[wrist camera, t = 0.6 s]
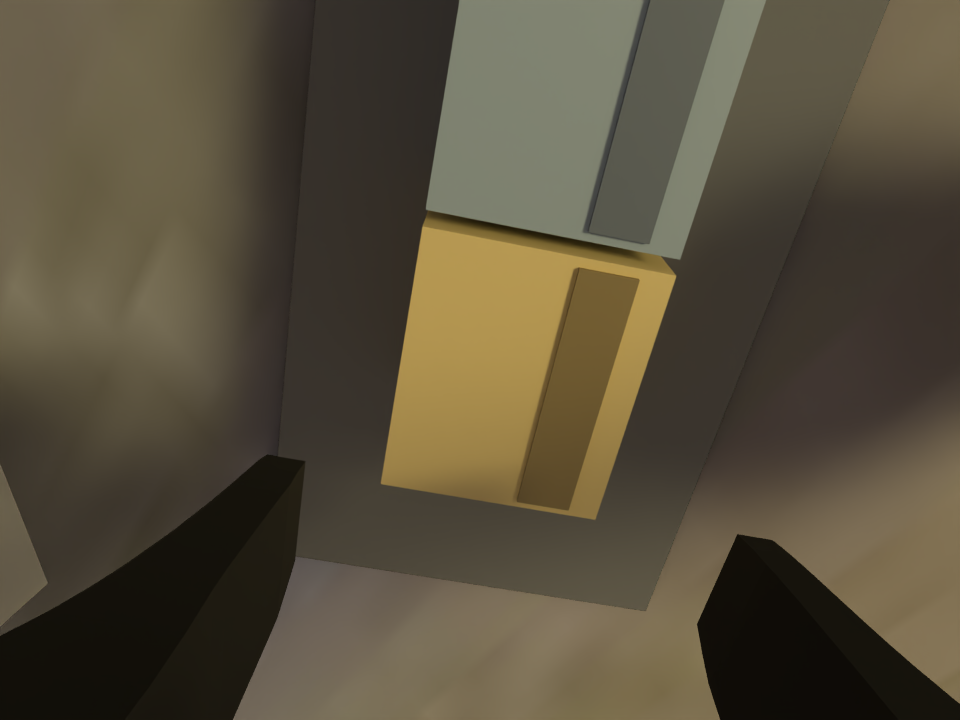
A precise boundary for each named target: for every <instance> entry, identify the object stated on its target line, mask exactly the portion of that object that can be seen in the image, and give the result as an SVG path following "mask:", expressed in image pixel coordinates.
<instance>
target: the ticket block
mask: <svg viewBox="0 0 960 720" xmlns="http://www.w3.org/2000/svg"><path fill="white" fill-rule="evenodd" d="M765 2H766V0H459V7H458V13H457V19H456V25H455V31H454V37H453V44H452V50H451V56H450V62H449V68H448V74H447V80H446V87H445V93H444V99H443V105H442V111H441V117H440V124H439V130H438V136H437V142H436V148H435V154H434V160H433V167H432V173H431V179H430V185H429V191H428V197H427V203H426V210H430V211H435V212H440V213H445V214H450V215H455V216H460V217H465V218H470V219H475V220H481V221H486V222H491V223H496V224H501V225H506V226H511V227H516V228H521V229H526V230H531V231H536V232H541V233H547V234H552V235H557V236H562V237H567V238H572V239H577V240H582V241H587V242H592V243H597V244H602V245H607V246H613V247H618V248H623V249H628V250H633V251H638V252H643V253H648V254H653V255H658V256H663V257H668V258H673V259H679V260H680V258H681V255H682V252H683V249H684V246H685V243H686V240H687V237H688V234H689V231H690V228H691V225H692V222H693V219H694V216H695V213H696V210H697V207H698V204H699V201H700V198H701V195H702V192H703V189H704V186H705V183H706V180H707V177H708V174H709V171H710V168H711V165H712V162H713V159H714V156H715V153H716V150H717V147H718V144H719V141H720V138H721V135H722V132H723V129H724V126H725V123H726V120H727V117H728V114H729V111H730V108H731V105H732V101H733V98H734V95H735V92H736V89H737V86H738V83H739V80H740V77H741V74H742V71H743V68H744V65H745V62H746V59H747V56H748V53H749V50H750V47H751V44H752V41H753V38H754V35H755V32H756V29H757V26H758V23H759V20H760V17H761V14H762V11H763V8H764V5H765Z"/></svg>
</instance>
